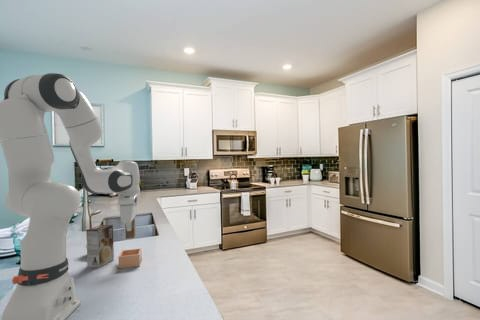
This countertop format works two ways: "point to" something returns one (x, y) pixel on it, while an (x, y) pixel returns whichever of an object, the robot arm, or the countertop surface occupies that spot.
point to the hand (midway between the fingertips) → (130, 229)
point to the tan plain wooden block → (130, 233)
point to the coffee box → (99, 245)
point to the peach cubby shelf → (130, 258)
